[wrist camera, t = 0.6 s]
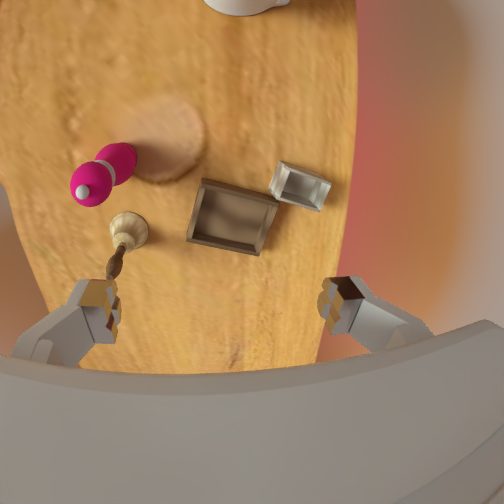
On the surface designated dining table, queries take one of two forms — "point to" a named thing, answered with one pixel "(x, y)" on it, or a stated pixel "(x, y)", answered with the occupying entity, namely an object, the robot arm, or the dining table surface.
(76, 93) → the dining table surface
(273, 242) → the dining table surface
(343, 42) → the dining table surface
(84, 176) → the pepper mill
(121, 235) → the hand bell
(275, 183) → the small crate
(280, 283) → the dining table surface
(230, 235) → the big crate
